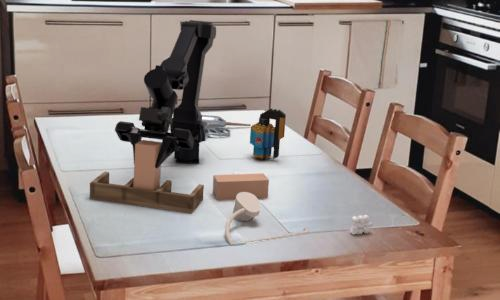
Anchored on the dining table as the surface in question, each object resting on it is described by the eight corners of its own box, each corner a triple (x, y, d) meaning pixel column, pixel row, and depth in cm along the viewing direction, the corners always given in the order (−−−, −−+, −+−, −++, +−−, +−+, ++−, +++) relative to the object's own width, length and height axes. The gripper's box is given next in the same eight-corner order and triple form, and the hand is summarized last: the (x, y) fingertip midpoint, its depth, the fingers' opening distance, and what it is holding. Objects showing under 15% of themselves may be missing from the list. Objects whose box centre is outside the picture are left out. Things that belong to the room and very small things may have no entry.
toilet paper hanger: (232, 244, 176) (203, 197, 188) (228, 261, 179) (199, 213, 190) (312, 231, 186) (279, 186, 197) (306, 247, 189) (274, 202, 200)
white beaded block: (352, 235, 186) (355, 217, 185) (348, 233, 187) (352, 214, 186) (370, 234, 188) (373, 216, 187) (367, 232, 189) (370, 214, 188)
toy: (245, 159, 234) (248, 108, 229) (258, 150, 242) (261, 101, 238) (277, 165, 231) (280, 113, 226) (288, 156, 239) (292, 106, 235)
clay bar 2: (262, 191, 210) (263, 173, 209) (267, 198, 206) (268, 180, 204) (212, 193, 207) (213, 175, 206) (216, 201, 203) (217, 181, 201)
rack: (104, 186, 207) (104, 171, 206) (203, 200, 202) (203, 184, 201) (89, 198, 199) (89, 182, 197) (192, 213, 193) (192, 197, 192)
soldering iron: (170, 144, 247) (162, 125, 261) (259, 149, 255) (247, 130, 269) (173, 126, 244) (164, 107, 258) (262, 132, 253) (250, 113, 267)
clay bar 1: (140, 191, 202) (142, 139, 199) (159, 194, 201) (162, 142, 198) (132, 196, 198) (135, 143, 195) (152, 199, 197) (155, 146, 194)
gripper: (117, 89, 198) (99, 145, 191) (192, 97, 194) (176, 155, 187) (129, 112, 208) (112, 167, 201) (200, 120, 204) (185, 177, 197)
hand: (145, 166), depth 196 cm, fingers closed on clay bar 1, 5 cm apart
